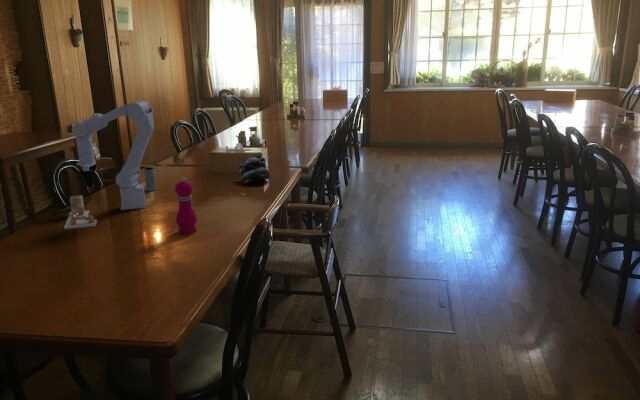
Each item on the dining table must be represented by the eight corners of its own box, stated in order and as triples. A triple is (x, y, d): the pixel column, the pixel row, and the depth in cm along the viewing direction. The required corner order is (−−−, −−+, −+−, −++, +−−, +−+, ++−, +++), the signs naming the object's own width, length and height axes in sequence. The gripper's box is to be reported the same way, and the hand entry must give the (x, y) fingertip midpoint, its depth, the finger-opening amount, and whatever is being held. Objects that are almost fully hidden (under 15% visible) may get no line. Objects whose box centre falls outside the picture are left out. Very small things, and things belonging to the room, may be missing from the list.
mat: (89, 211, 205) (89, 210, 205) (87, 216, 199) (87, 215, 199) (70, 213, 203) (70, 212, 203) (67, 218, 197) (67, 217, 197)
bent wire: (96, 215, 197) (95, 209, 197) (93, 222, 190) (93, 216, 189) (74, 218, 195) (73, 211, 194) (71, 224, 188) (70, 218, 187)
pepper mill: (201, 229, 184) (197, 175, 178) (190, 236, 178) (185, 180, 172) (184, 227, 187) (179, 174, 181) (173, 233, 180) (167, 179, 174)
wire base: (98, 217, 198) (97, 215, 198) (95, 226, 188) (95, 224, 188) (68, 220, 195) (68, 218, 195) (64, 229, 185) (63, 227, 185)
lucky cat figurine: (237, 185, 242) (231, 157, 244) (246, 188, 253) (240, 162, 256) (266, 177, 239) (260, 149, 241) (274, 181, 251) (268, 154, 253)
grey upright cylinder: (153, 191, 233) (151, 169, 230) (144, 191, 233) (141, 169, 230) (158, 189, 237) (156, 167, 234) (149, 188, 238) (147, 167, 235)
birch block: (84, 211, 203) (82, 195, 201) (83, 214, 200) (81, 197, 198) (73, 213, 202) (71, 196, 200) (72, 216, 199) (69, 198, 197)
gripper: (77, 149, 211) (82, 181, 215) (72, 156, 198) (77, 189, 201) (95, 148, 213) (100, 179, 217) (92, 154, 200) (97, 188, 204)
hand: (90, 184), depth 209 cm, fingers open, 7 cm apart
